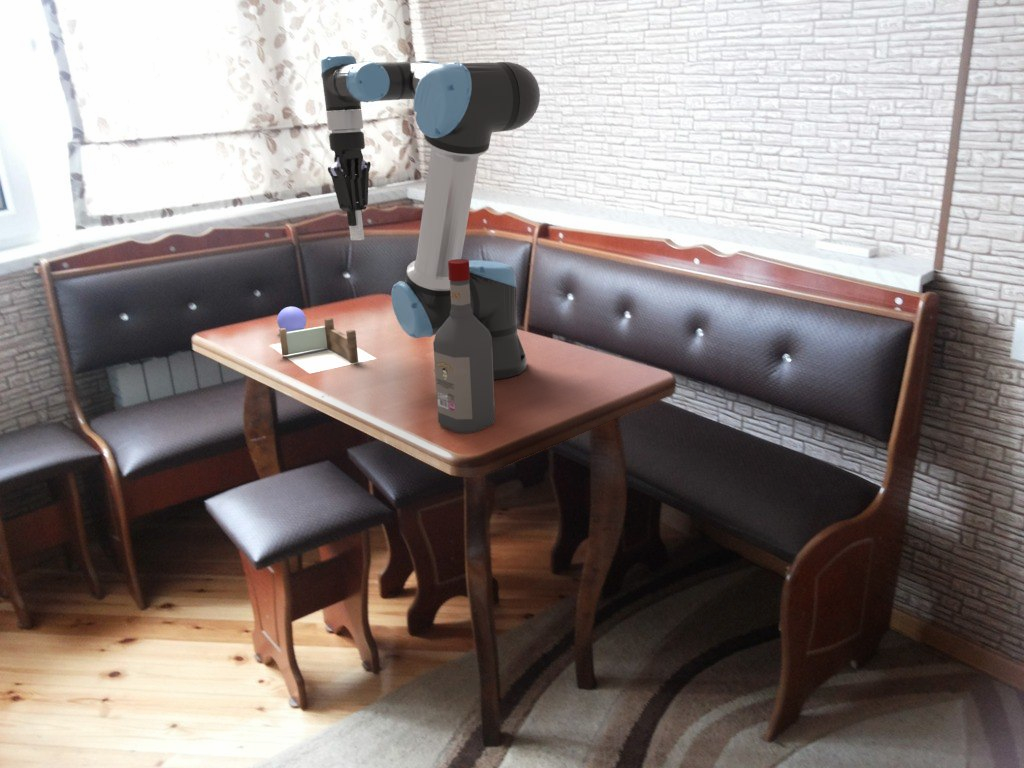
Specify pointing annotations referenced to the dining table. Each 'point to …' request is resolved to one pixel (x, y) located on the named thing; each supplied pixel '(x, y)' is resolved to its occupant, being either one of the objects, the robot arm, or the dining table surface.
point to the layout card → (321, 359)
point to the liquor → (463, 361)
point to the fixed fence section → (341, 341)
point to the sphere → (291, 319)
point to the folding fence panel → (302, 340)
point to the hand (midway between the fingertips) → (357, 239)
